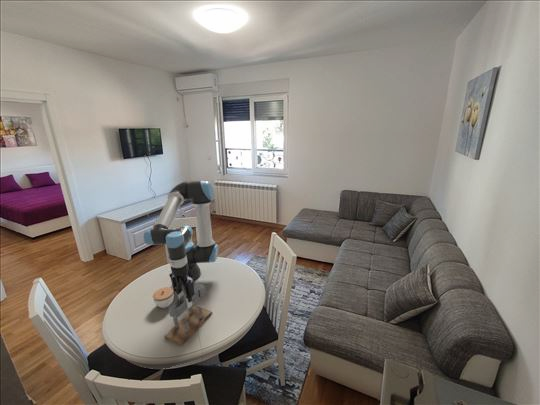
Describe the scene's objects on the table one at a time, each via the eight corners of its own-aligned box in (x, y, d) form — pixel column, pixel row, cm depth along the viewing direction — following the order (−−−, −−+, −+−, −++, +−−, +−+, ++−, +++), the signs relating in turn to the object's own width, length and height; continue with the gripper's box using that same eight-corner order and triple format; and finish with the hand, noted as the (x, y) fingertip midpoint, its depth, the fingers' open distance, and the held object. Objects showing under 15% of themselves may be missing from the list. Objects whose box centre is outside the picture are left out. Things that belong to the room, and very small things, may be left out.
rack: (196, 307, 135) (194, 296, 133) (212, 313, 131) (210, 302, 128) (165, 338, 116) (162, 325, 114) (182, 346, 112) (179, 333, 110)
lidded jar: (153, 313, 132) (150, 299, 129) (156, 300, 142) (154, 286, 139) (174, 308, 135) (171, 294, 132) (176, 296, 145) (173, 283, 142)
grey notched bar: (198, 290, 131) (197, 282, 129) (205, 293, 129) (204, 285, 127) (169, 315, 114) (167, 307, 112) (177, 319, 112) (175, 310, 110)
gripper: (159, 264, 113) (167, 305, 120) (187, 272, 106) (194, 315, 113) (172, 256, 119) (179, 295, 126) (198, 264, 112) (204, 305, 119)
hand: (186, 305), depth 120 cm, fingers closed on grey notched bar, 4 cm apart
